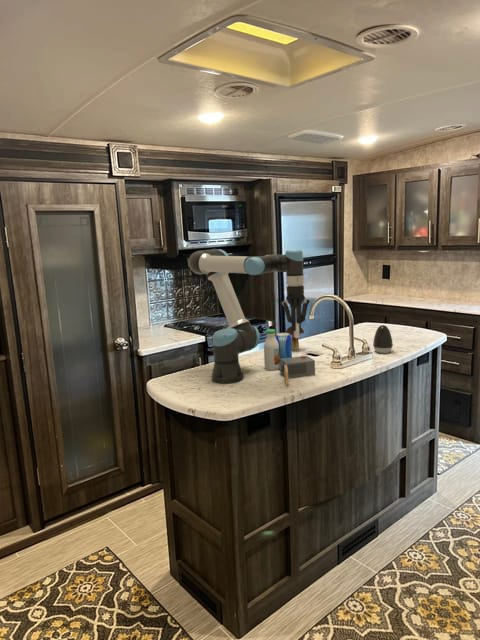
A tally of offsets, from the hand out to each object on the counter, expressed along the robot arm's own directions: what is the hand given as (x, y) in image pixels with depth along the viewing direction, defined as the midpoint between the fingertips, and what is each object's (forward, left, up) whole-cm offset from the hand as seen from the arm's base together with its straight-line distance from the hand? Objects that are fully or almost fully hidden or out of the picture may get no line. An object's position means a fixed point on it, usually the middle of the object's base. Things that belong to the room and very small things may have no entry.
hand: (296, 337), depth 209 cm
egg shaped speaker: (+61, +30, -21) cm, 71 cm away
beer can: (+4, +30, -21) cm, 37 cm away
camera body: (+4, +12, -21) cm, 24 cm away
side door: (-5, +1, -20) cm, 21 cm away
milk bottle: (-4, +25, -21) cm, 33 cm away
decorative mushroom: (+19, +54, -21) cm, 61 cm away
